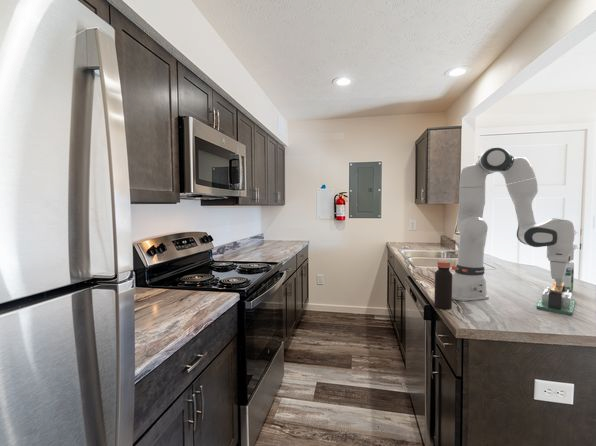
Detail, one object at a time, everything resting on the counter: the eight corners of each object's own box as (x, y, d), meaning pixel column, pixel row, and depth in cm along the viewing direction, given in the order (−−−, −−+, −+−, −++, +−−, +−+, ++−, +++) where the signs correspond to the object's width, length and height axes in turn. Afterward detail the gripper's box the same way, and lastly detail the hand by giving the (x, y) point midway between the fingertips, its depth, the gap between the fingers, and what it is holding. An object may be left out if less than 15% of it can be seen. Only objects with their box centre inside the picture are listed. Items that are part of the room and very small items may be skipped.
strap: (561, 294, 119) (562, 291, 119) (549, 292, 122) (549, 289, 122) (565, 284, 131) (565, 282, 131) (553, 283, 134) (553, 280, 134)
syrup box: (559, 289, 148) (560, 262, 147) (553, 286, 154) (555, 259, 153) (573, 290, 146) (574, 262, 145) (567, 287, 152) (568, 260, 151)
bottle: (444, 310, 121) (445, 264, 120) (430, 305, 128) (431, 261, 126) (455, 308, 124) (456, 262, 123) (441, 303, 130) (442, 259, 129)
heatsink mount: (572, 315, 115) (573, 298, 114) (536, 308, 123) (537, 292, 122) (575, 301, 131) (575, 286, 130) (543, 296, 138) (544, 281, 138)
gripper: (552, 251, 137) (551, 279, 138) (547, 257, 122) (546, 289, 123) (571, 252, 132) (569, 282, 133) (568, 259, 118) (566, 292, 119)
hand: (558, 285), depth 128 cm, fingers closed, pressing on strap
